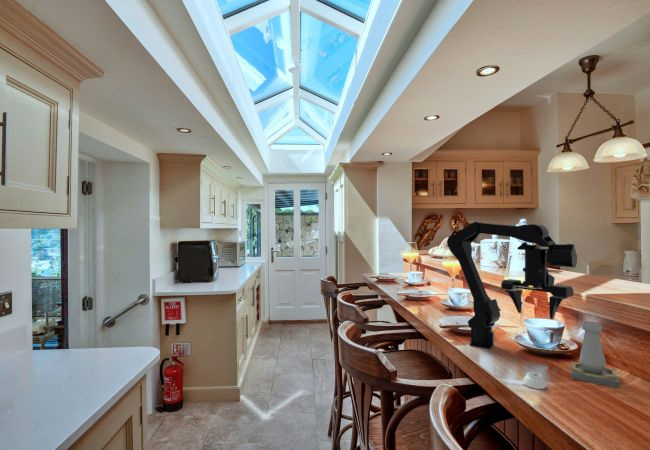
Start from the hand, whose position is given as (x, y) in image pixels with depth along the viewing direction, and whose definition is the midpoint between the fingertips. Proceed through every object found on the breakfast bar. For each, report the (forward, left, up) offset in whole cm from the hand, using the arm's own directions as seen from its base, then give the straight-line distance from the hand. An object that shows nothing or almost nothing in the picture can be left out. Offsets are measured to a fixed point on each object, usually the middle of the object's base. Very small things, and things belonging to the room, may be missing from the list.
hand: (535, 315), depth 110 cm
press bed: (+14, -7, -13) cm, 20 cm away
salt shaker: (+14, -7, -12) cm, 19 cm away
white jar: (+1, -23, -13) cm, 26 cm away
